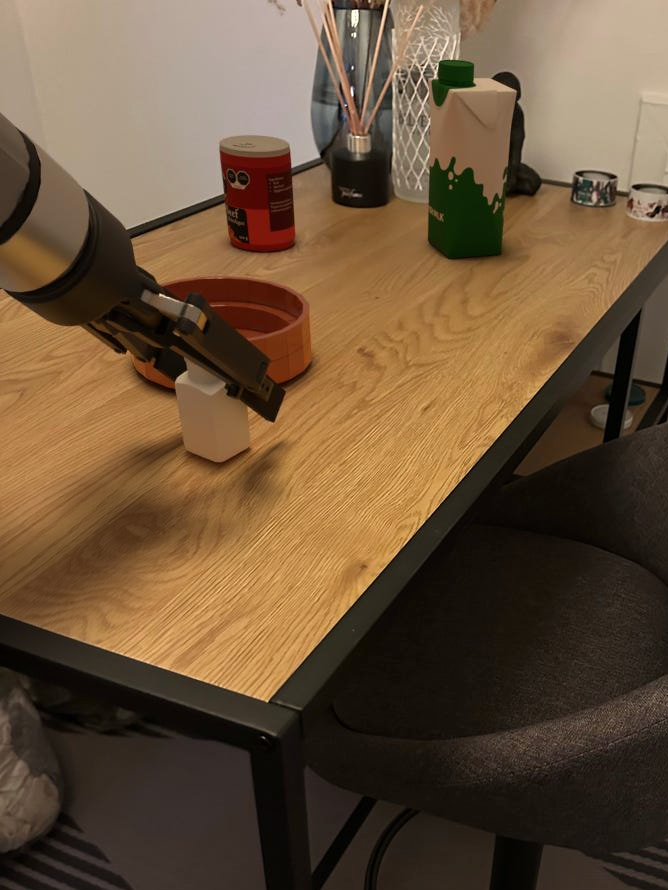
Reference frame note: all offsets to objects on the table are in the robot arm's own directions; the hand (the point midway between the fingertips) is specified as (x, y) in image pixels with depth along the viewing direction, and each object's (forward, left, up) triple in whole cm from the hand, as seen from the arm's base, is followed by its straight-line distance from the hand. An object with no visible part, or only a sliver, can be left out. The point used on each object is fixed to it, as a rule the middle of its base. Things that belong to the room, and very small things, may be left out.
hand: (242, 395), depth 75 cm
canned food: (-27, +40, -3) cm, 49 cm away
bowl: (-10, +10, -3) cm, 15 cm away
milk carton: (-6, +53, -3) cm, 54 cm away
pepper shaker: (0, -4, -3) cm, 5 cm away
